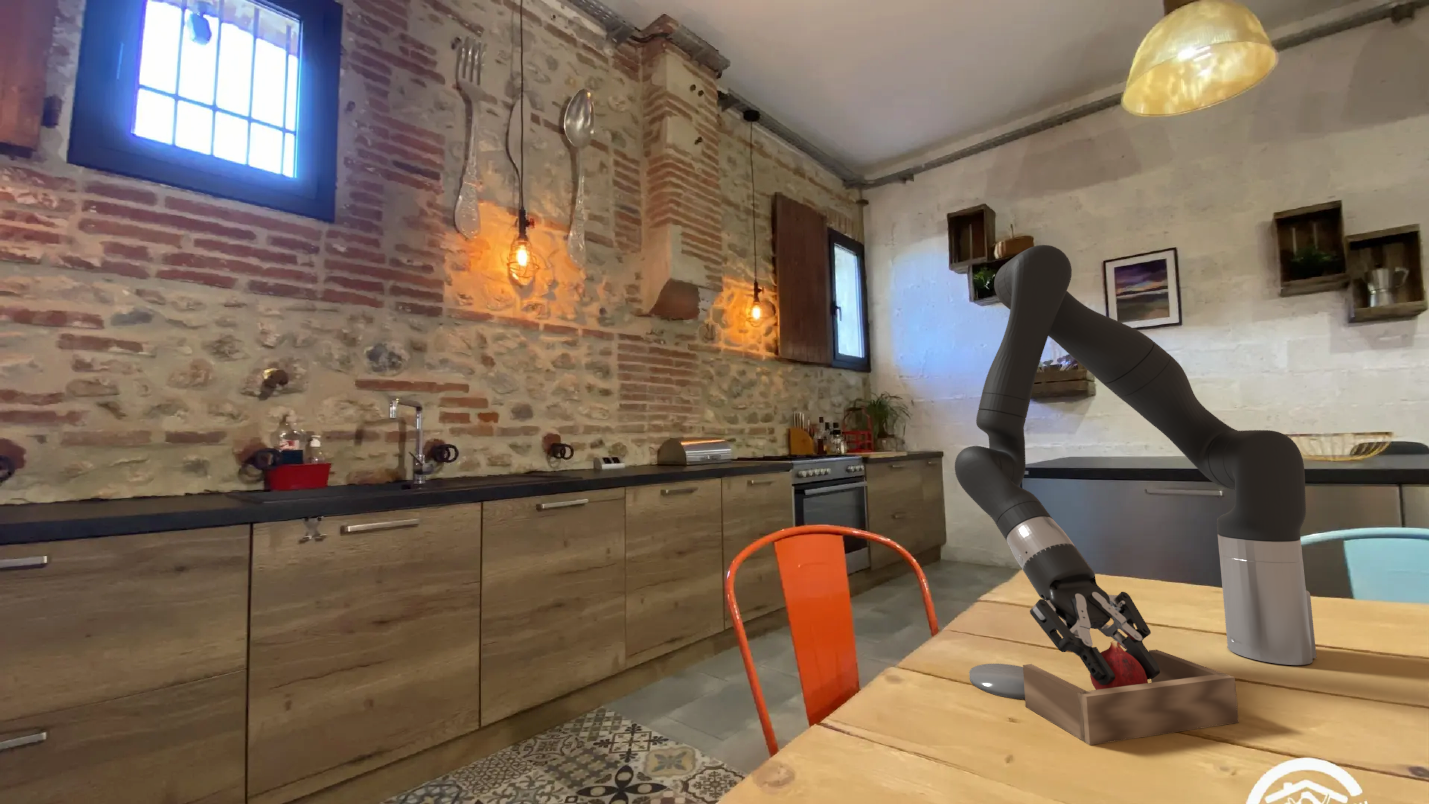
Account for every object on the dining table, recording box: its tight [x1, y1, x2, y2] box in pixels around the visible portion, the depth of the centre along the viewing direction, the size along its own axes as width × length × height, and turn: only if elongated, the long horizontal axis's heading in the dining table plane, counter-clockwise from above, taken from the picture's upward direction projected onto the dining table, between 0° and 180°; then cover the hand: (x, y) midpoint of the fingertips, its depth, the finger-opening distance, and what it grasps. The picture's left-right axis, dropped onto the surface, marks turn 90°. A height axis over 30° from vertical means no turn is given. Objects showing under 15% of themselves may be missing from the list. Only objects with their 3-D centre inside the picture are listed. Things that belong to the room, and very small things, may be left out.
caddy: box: [1022, 649, 1240, 746], centre depth 70 cm, size 20×10×5 cm, turn 102°
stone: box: [968, 663, 1025, 700], centre depth 80 cm, size 10×10×1 cm
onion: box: [1089, 639, 1149, 690], centre depth 71 cm, size 6×6×8 cm
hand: (1131, 678), depth 69 cm, fingers closed on onion, 5 cm apart
